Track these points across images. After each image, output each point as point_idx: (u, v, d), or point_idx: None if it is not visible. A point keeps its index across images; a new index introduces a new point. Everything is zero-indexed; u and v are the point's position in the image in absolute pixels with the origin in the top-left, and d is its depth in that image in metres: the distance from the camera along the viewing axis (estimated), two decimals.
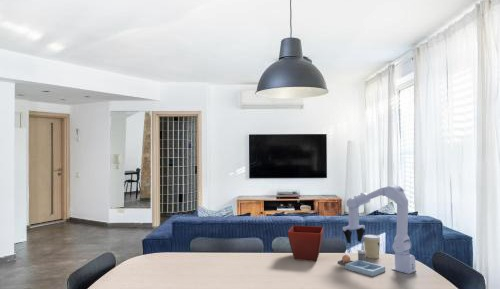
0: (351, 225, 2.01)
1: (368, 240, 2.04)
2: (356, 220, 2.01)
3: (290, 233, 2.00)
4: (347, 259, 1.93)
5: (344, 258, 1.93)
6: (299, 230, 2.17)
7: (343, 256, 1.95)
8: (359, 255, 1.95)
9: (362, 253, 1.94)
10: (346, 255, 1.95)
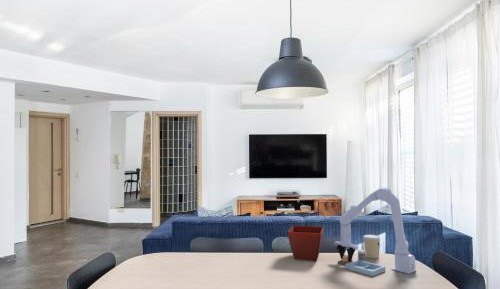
0: None
1: (368, 240, 2.04)
2: (342, 237, 1.94)
3: (290, 233, 2.00)
4: (347, 259, 1.93)
5: (344, 258, 1.93)
6: (299, 230, 2.17)
7: (343, 256, 1.95)
8: (359, 255, 1.95)
9: (362, 253, 1.94)
10: (346, 255, 1.95)
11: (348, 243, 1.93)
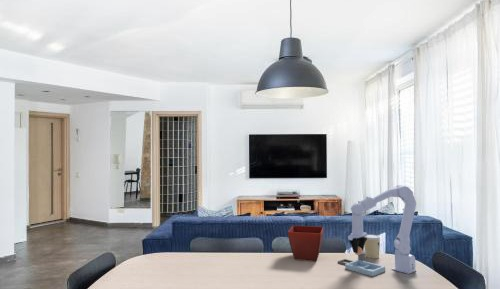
0: (356, 233, 1.84)
1: (368, 240, 2.04)
2: (361, 228, 1.84)
3: (290, 233, 2.00)
4: None
5: (361, 249, 1.85)
6: (299, 230, 2.17)
7: (359, 248, 1.85)
8: (359, 255, 1.95)
9: (362, 253, 1.94)
10: (358, 246, 1.86)
11: None
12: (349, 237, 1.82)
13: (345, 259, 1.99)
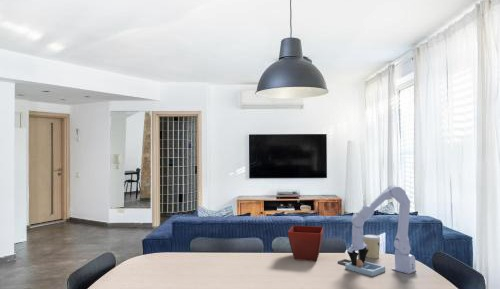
0: (356, 245, 1.84)
1: (368, 240, 2.04)
2: (362, 240, 1.84)
3: (290, 233, 2.00)
4: None
5: (361, 262, 1.85)
6: (299, 230, 2.17)
7: (359, 261, 1.84)
8: (359, 255, 1.95)
9: None
10: (359, 259, 1.86)
11: None
12: (349, 249, 1.82)
13: (345, 259, 1.99)
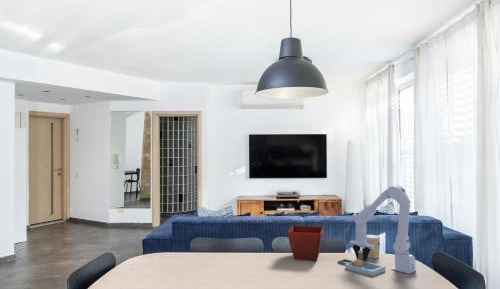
0: None
1: (368, 240, 2.04)
2: (358, 237, 1.95)
3: (290, 233, 2.00)
4: None
5: (361, 262, 1.85)
6: (299, 230, 2.17)
7: (359, 261, 1.84)
8: (359, 255, 1.95)
9: (362, 253, 1.94)
10: (359, 259, 1.86)
11: (364, 243, 1.93)
12: None
13: (345, 259, 1.99)
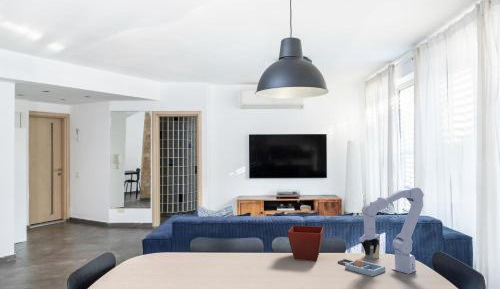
0: (368, 235, 1.79)
1: (368, 240, 2.04)
2: (373, 229, 1.79)
3: (290, 233, 2.00)
4: None
5: (362, 262, 1.85)
6: (299, 230, 2.17)
7: (359, 261, 1.84)
8: (372, 250, 1.80)
9: (373, 247, 1.81)
10: (359, 259, 1.86)
11: None
12: (360, 239, 1.78)
13: (345, 259, 1.99)
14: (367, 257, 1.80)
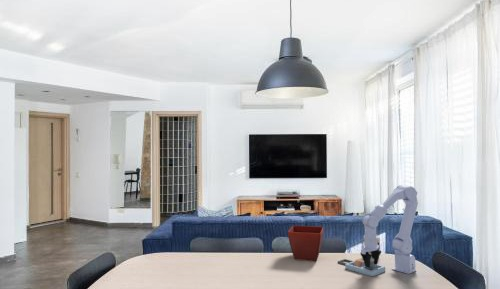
0: (369, 247, 1.78)
1: None
2: (375, 241, 1.78)
3: (290, 233, 2.00)
4: None
5: (362, 262, 1.85)
6: (299, 230, 2.17)
7: (359, 261, 1.85)
8: (372, 263, 1.79)
9: None
10: (359, 259, 1.86)
11: None
12: (362, 251, 1.76)
13: (345, 259, 1.99)
14: None
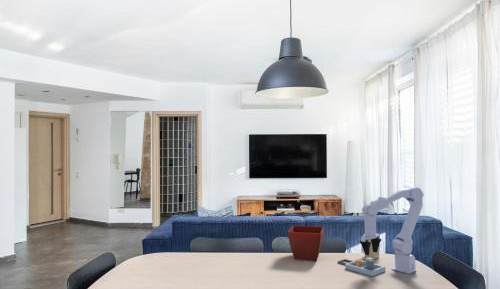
0: (369, 235, 1.78)
1: (368, 240, 2.04)
2: (374, 229, 1.78)
3: (290, 233, 2.00)
4: None
5: (362, 262, 1.85)
6: (299, 230, 2.17)
7: (360, 261, 1.85)
8: (372, 263, 1.79)
9: None
10: (359, 259, 1.86)
11: None
12: (362, 238, 1.76)
13: (345, 259, 1.99)
14: None
